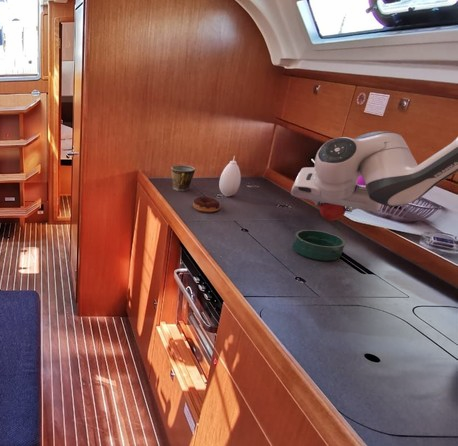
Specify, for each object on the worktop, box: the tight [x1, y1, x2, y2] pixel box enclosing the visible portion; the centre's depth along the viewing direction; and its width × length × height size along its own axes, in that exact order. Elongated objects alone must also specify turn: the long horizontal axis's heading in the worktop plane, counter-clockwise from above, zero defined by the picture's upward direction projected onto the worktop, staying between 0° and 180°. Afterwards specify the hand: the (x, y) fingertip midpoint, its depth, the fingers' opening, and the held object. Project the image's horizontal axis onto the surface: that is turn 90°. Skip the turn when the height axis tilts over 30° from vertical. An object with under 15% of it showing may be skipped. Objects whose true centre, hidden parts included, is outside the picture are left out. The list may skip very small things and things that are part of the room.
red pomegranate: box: [319, 202, 346, 222], centre depth 115 cm, size 6×6×8 cm
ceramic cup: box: [170, 164, 196, 192], centre depth 179 cm, size 13×10×10 cm
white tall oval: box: [218, 155, 242, 197], centre depth 167 cm, size 8×8×18 cm
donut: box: [192, 196, 221, 213], centre depth 158 cm, size 10×10×4 cm
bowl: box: [292, 229, 346, 262], centre depth 122 cm, size 12×12×5 cm
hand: (333, 206), depth 115 cm, fingers closed on red pomegranate, 6 cm apart
